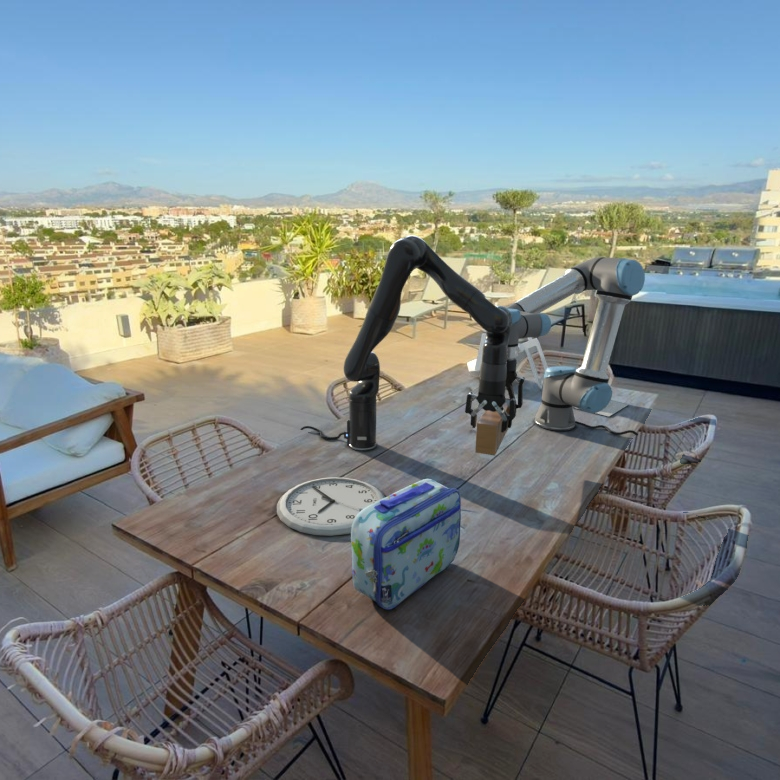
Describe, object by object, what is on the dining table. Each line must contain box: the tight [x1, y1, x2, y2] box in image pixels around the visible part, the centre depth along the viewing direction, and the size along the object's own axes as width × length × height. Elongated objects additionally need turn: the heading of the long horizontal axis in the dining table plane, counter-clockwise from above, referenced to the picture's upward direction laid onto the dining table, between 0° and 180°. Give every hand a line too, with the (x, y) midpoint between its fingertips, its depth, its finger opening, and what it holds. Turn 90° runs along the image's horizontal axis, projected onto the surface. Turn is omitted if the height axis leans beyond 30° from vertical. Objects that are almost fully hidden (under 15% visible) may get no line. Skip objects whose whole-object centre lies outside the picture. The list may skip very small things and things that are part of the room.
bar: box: [474, 396, 510, 457], centre depth 165 cm, size 27×6×9 cm, turn 158°
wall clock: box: [276, 476, 386, 537], centre depth 142 cm, size 30×2×30 cm
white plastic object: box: [466, 333, 549, 390], centre depth 259 cm, size 37×45×31 cm
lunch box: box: [350, 478, 462, 611], centre depth 110 cm, size 26×11×21 cm, turn 135°
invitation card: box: [573, 400, 629, 418], centre depth 226 cm, size 21×1×15 cm
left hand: (488, 429), depth 155 cm, fingers open, 8 cm apart
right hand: (499, 425), depth 174 cm, fingers closed on bar, 6 cm apart
